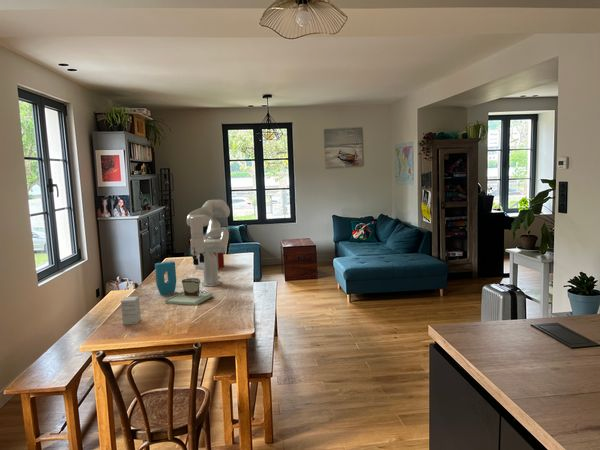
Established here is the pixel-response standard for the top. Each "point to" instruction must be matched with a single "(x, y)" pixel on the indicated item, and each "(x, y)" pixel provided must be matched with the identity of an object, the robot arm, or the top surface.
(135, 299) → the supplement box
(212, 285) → the robot arm
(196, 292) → the food container
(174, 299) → the board
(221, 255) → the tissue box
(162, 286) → the block
